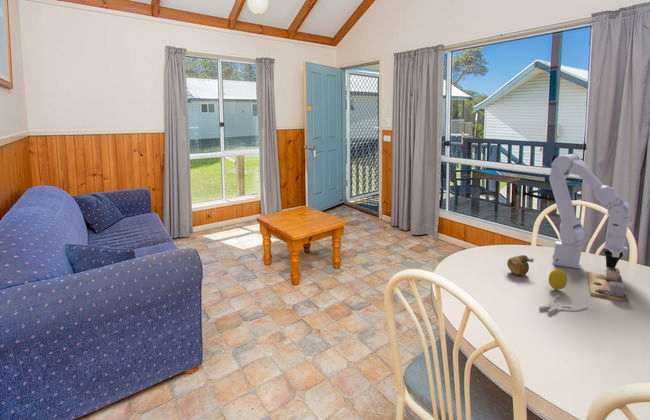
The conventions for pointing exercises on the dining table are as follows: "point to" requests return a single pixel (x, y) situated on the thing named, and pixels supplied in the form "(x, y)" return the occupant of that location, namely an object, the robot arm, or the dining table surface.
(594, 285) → the gauge board
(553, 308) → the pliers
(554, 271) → the lemon
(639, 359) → the dining table surface
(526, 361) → the dining table surface
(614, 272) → the sliding leg
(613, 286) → the fixed leg
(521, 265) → the onion
